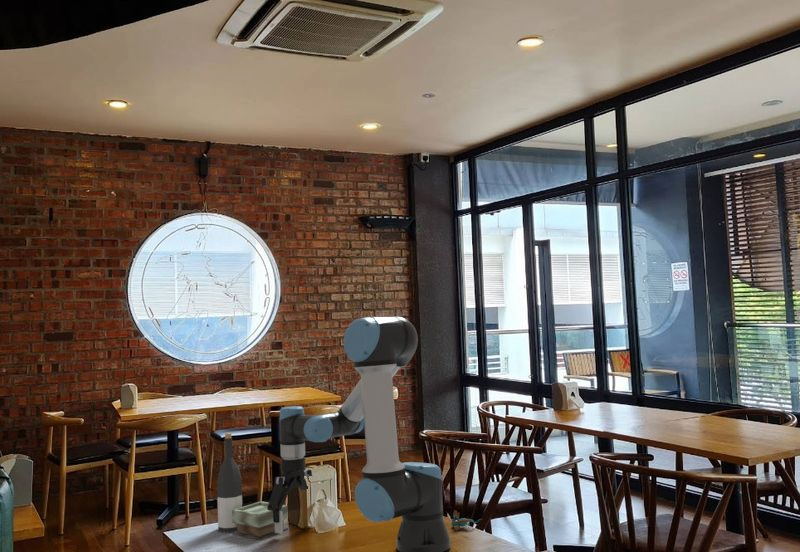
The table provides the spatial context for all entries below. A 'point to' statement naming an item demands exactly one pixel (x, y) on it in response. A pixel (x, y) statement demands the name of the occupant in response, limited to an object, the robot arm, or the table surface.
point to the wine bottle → (228, 489)
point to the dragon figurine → (460, 521)
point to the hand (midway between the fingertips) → (294, 527)
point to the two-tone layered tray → (256, 520)
